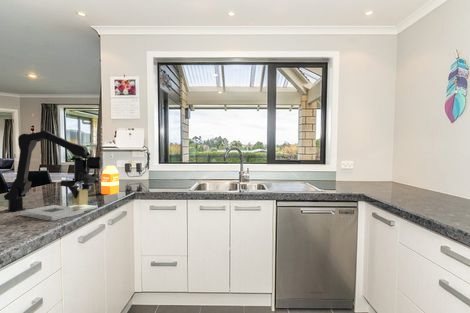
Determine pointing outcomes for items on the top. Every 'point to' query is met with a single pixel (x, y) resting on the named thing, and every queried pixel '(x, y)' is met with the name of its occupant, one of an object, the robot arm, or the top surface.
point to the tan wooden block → (81, 197)
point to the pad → (83, 207)
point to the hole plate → (52, 212)
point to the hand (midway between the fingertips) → (80, 197)
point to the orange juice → (110, 180)
